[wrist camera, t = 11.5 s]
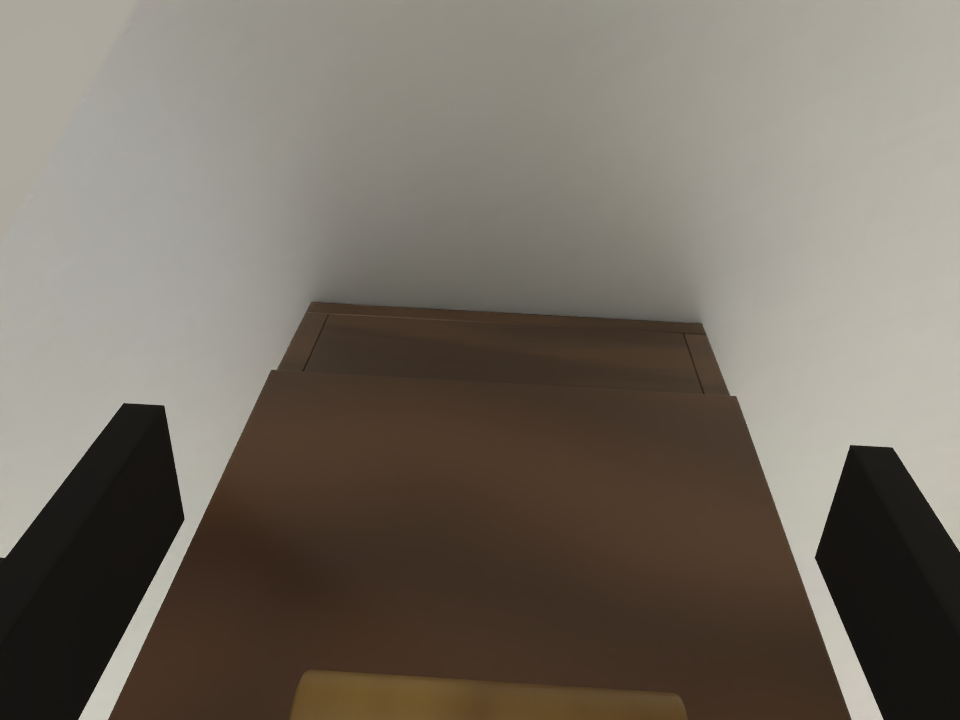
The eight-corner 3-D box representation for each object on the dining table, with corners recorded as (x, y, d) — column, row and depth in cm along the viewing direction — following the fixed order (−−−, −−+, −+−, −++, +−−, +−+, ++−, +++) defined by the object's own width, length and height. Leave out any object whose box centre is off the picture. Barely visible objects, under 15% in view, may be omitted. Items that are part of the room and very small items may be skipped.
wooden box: (643, 633, 46) (658, 730, 41) (332, 613, 46) (308, 706, 41) (702, 323, 36) (732, 397, 31) (310, 301, 37) (275, 372, 31)
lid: (973, 1123, 14) (1167, 934, 10) (-24, 1047, 14) (-178, 840, 11) (732, 413, 31) (774, 244, 27) (273, 387, 31) (252, 216, 28)
